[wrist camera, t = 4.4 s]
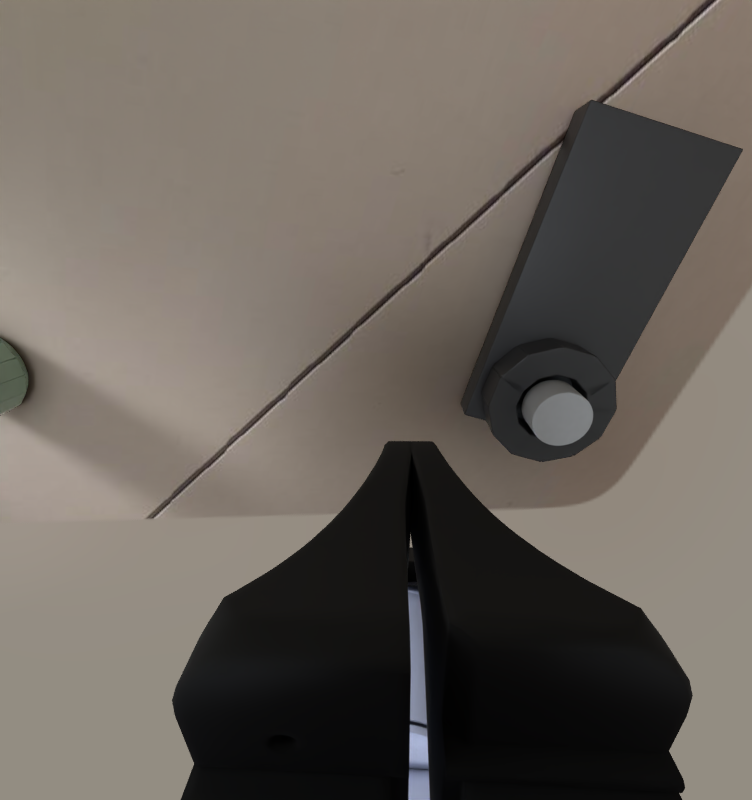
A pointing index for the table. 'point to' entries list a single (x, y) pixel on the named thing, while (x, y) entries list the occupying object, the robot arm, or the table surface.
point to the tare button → (557, 412)
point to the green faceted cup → (11, 378)
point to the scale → (594, 267)
